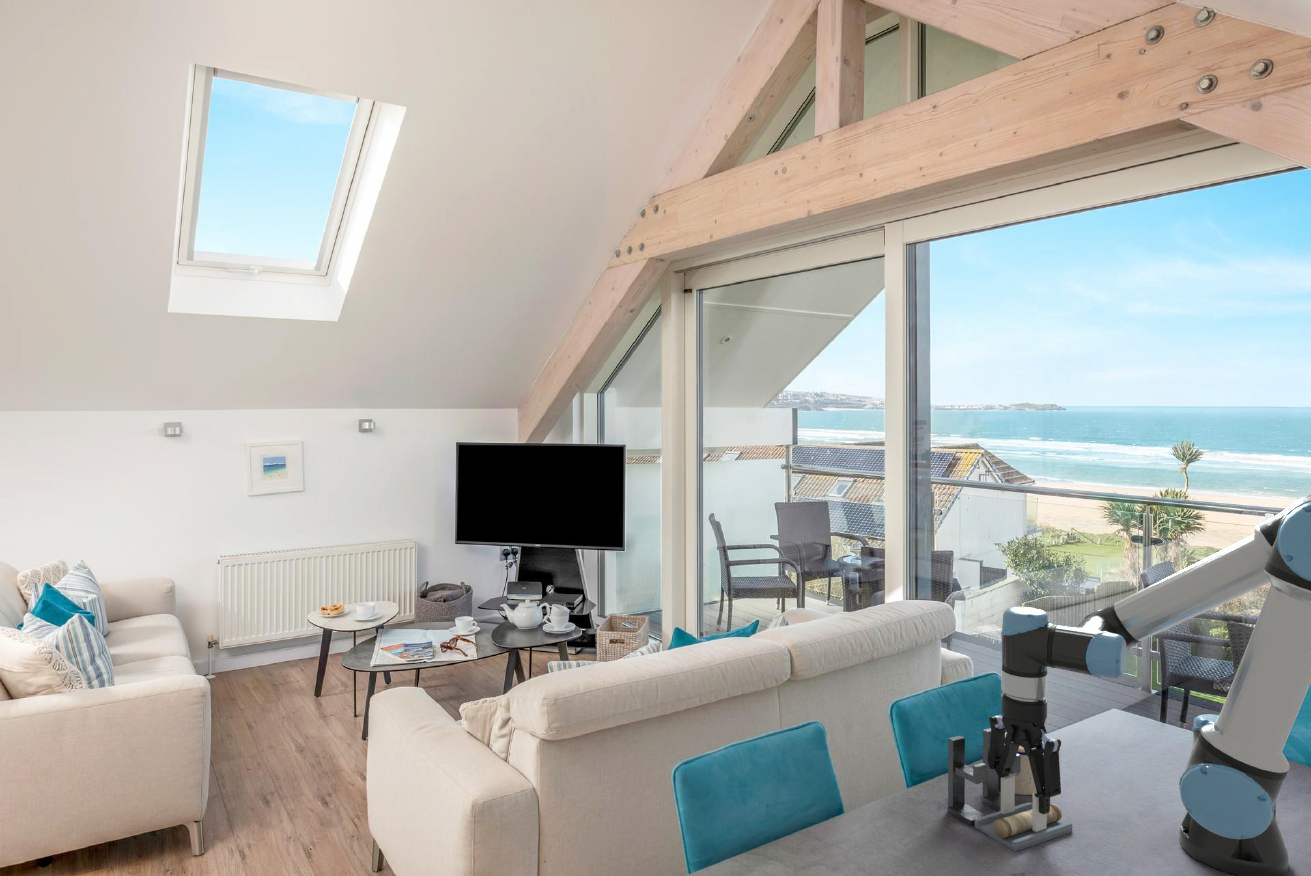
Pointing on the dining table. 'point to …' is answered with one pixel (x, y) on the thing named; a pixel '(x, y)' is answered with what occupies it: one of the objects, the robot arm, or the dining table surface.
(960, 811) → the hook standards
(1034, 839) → the tray
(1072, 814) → the dining table surface
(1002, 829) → the wooden cylinder
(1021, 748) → the teacup with lid
